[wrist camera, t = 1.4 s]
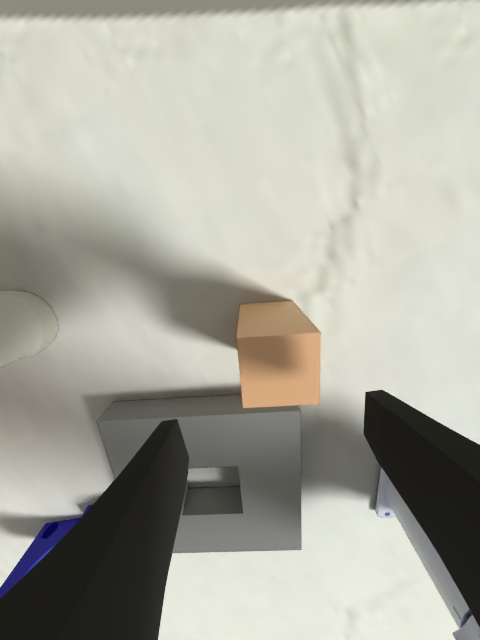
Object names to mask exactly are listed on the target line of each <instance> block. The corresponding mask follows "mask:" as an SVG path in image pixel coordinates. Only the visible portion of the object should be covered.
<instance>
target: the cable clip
mask: <svg viewBox="0 0 480 640" xmlns="http://www.w3.org/2000/svg"><path fill="white" fill-rule="evenodd" d="M92 506H93V505H90V506H88V507H87V509H86V510H85V512H84V514H83V515H82V517H83V516H84V515H85V513H86V512H87V511H88V510H89V509H90V508H91V507H92ZM82 517H81V518H82ZM81 518H76V519H70V520H65V521H59V522H53V523H47V524H45V525H44V527H43V528H42V530H41V531H40V532H39V534H38V535H37V537H36V538H35V540H34V541H33V542H32V544H31V545H30V547H29V548H28V549H27V551H26V552H25V554H24V555H23V557H22V558H21V559H20V561H19V562H18V564H17V565H16V566H15V568H14V569H13V571H12V572H11V573H10V575H9V576H8V578H7V579H6V581H5V582H4V583H3V585H2V586H1V588H0V598H2V597H3V596H4V595H5V594H6V593H7V592H8V591H9V590H10V589H11V588H12V587H13V586H14V585H15V584H16V583H17V582H18V581H19V580H20V579H21V578H22V577H23V576H25V575H26V574H27V573H28V572H29V571H30V570H31V569H32V568H33V567H34V566H35V565H36V564H37V563H38V562H39V561H40V560H41V559H42V558H43V557H44V556H45V555H46V554H47V553H48V552H49V551H50V550H51V549H52V548H53V547H54V546H55V545H56V544H57V543H58V542H59V541H60V540H61V539H62V538H63V537H64V536H65V535H66V534H67V533H68V532H69V531H70V530H71V529H72V528H73V526H74V525H75V524H76V523H77V522H78V521H79V520H80V519H81Z"/></svg>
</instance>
